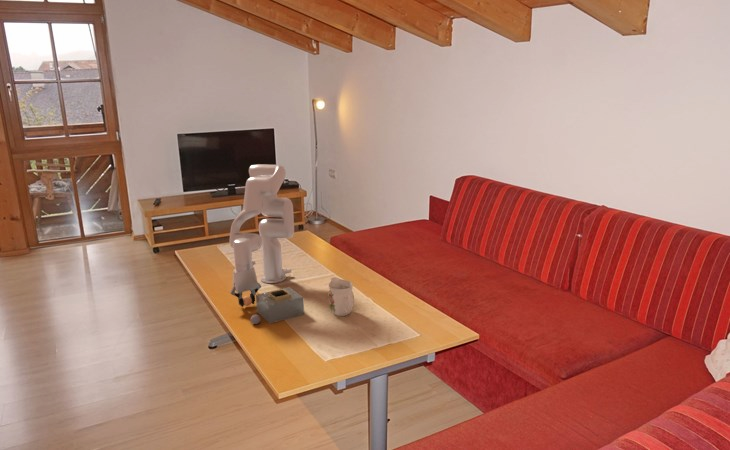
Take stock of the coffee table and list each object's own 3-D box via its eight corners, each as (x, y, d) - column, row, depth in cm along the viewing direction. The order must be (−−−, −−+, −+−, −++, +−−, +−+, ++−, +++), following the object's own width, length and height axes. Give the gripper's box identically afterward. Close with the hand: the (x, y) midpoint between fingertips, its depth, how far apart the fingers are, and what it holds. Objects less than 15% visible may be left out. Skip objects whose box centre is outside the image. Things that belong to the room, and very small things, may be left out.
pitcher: (339, 324, 225) (338, 293, 221) (322, 308, 240) (321, 279, 236) (363, 319, 229) (362, 288, 226) (345, 303, 245) (344, 275, 241)
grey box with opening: (290, 303, 246) (289, 284, 244) (304, 314, 235) (303, 294, 232) (257, 311, 238) (255, 292, 235) (269, 323, 227) (268, 303, 224)
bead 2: (258, 312, 228) (249, 313, 226) (261, 315, 225) (252, 317, 223) (258, 321, 229) (249, 322, 227) (261, 324, 226) (252, 326, 224)
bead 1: (250, 302, 246) (249, 293, 245) (253, 306, 242) (253, 296, 241) (240, 304, 244) (239, 295, 242) (244, 308, 240) (243, 299, 239)
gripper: (258, 260, 245) (261, 297, 250) (222, 267, 236) (226, 306, 242) (265, 264, 239) (268, 302, 244) (228, 272, 230) (231, 312, 235)
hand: (247, 304), depth 243 cm, fingers closed on bead 1, 4 cm apart
